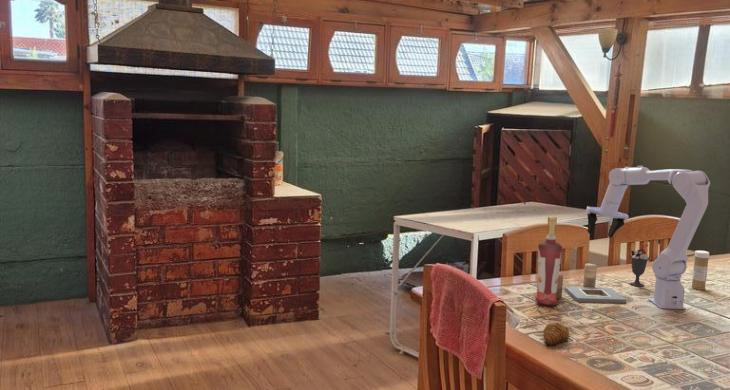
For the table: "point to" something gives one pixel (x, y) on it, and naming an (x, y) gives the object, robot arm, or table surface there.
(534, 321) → the table surface
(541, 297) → the liquor
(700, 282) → the sprinkles bottle
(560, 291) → the fat peg
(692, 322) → the table surface
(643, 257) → the sundae
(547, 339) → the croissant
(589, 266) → the slim peg
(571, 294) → the socket board
